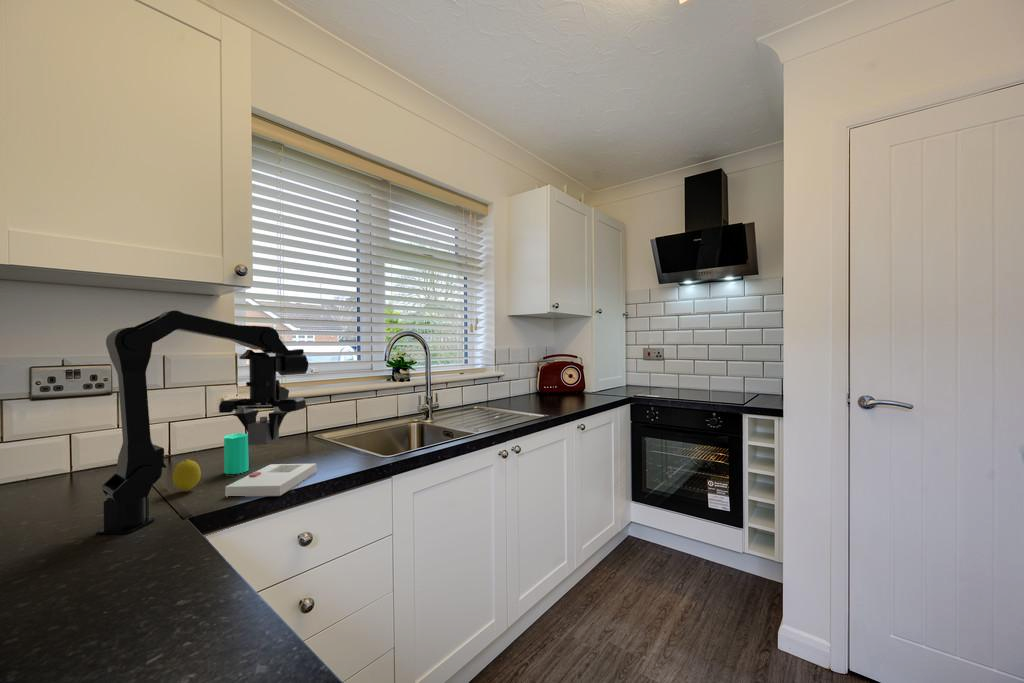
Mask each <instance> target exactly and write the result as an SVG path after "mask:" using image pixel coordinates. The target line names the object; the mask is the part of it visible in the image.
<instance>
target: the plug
mask: <svg viewBox="0 0 1024 683" xmlns="http://www.w3.org/2000/svg"><path fill="white" fill-rule="evenodd" d="M247 434H248V446H255V445H257V446H260V445H262V446H263V445H269V444H271V443H274V442H277V441H279V440H280V430H279V431H278V433H277V436H276V438H275V439H274V440H272V439H271V434H270V424H269V419H268V416H260V417H259V420H258V421H257V420H256V422H254V423H250V424H248V432H247Z"/></svg>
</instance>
